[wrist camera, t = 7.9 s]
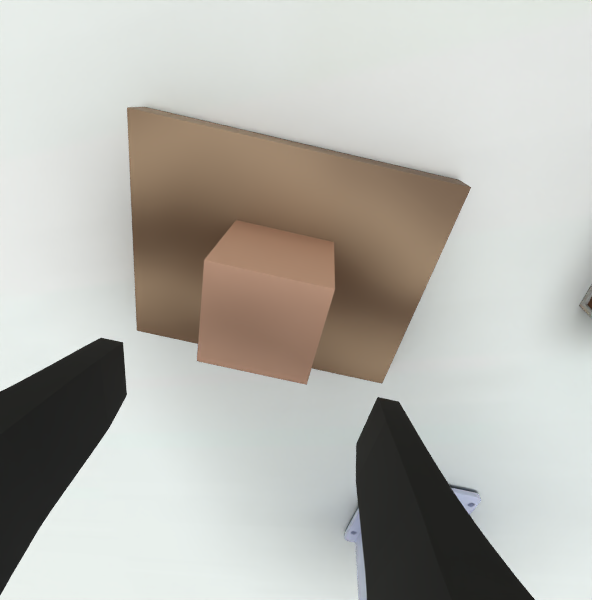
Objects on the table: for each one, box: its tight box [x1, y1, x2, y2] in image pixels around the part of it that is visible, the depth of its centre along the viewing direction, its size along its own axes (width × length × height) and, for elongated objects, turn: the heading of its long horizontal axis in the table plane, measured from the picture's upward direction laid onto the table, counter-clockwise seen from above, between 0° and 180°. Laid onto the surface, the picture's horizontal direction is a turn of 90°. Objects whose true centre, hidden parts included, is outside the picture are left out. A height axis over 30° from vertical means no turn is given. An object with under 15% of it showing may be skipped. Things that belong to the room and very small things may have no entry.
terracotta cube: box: [197, 220, 335, 385], centre depth 15 cm, size 4×4×4 cm
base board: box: [127, 107, 471, 383], centre depth 17 cm, size 11×14×2 cm
